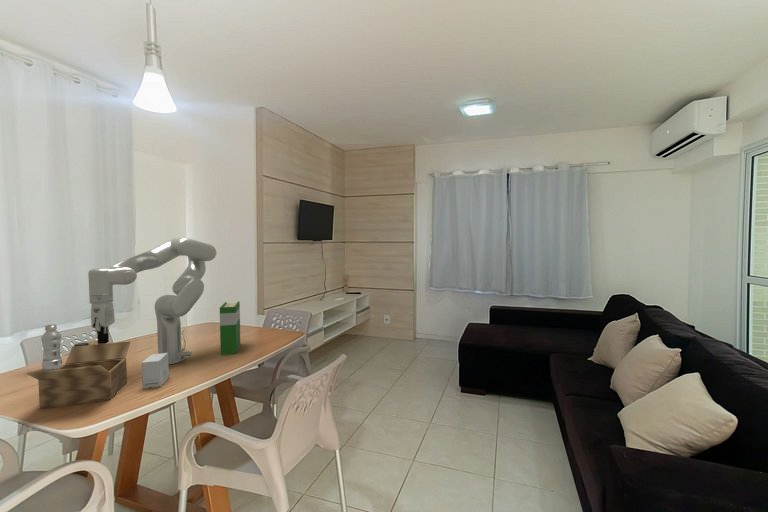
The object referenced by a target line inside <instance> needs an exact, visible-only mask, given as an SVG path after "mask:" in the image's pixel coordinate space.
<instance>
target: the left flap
mask: <svg viewBox="0 0 768 512" xmlns="http://www.w3.org/2000/svg"><path fill="white" fill-rule="evenodd" d="M108 372H109V371H108V370H106V369H105V368H104V367H102V366H101V365H96V366H86V367H76V368H67V369H57V370H56V369H55V370H48V371H45V370H40V371H39V370H37V371H29V372H26V375H28V376H29V377H32V378H33V379H36V380H47V379H56V378H65V377H74V376H83V375H92V374H101V373H108Z"/></svg>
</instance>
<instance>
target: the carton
mask: <svg viewBox="0 0 768 512" xmlns="http://www.w3.org/2000/svg"><path fill="white" fill-rule="evenodd" d="M96 365H101V366H102V367H104V368H105V369H106V370H108V371H109V372H108V373H101V374H92V375H83V376H74V377H65V378H56V379H47V380H38V379H37V380H38V403H39V406H38V407H39V410H42V409H51V408H58V407H65V406H71V405H73V406H74V405H80V403H81V404H87V402H89V403H95V402H102V401H103V400H104V401H110V400H109V399H111V400H112V399H114V397H115V396H117V394H118V393H119V392H120V391H121V390H122V389H123V388H122V387H123V386H124V385H125V386H126V385H127V383H128V373H127V372H128V369H127V365H128V364H127V357H126V358H124V359H114V360H104V361H94V362H84V363H74V364H65V363H64V364H62V366H60V367H59V368H57V369H67V368H76V367H86V366H96ZM57 369H55V370H57ZM121 388H122V389H121ZM120 389H121V390H120ZM119 390H120V391H119ZM118 391H119V392H118ZM117 392H118V393H117Z"/></svg>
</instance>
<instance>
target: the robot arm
mask: <svg viewBox="0 0 768 512" xmlns="http://www.w3.org/2000/svg"><path fill="white" fill-rule="evenodd" d="M180 256H181V257H182V256H183V257H187V260H188V265H187V266H186V268H185V270H184V271H183V272H182V273H181V274H180V276H179V277H178V278H177V279H176V281H175V282H174V283H173V285H172V287H171V289H172V292H173V294H175V295H172V294H164V295H161V296H160V297H158V298H157V299H156V301H155V303H154V312H155V317H156V327H157V328H156V330H157V332H156V333H157V334H156V335H157V354H161V353H168V366H169V365H174V364H178V363H181V362H184V361H185V360H186V357H191V356H193V355H192V351H190V350H187V351H184V348H182V323H181V322H182V321H181V318H180V317H184V316H185V315H187V314H188V313H189V311H191V309H192V308H193V307H195V305H196V303H197V301H198V300H200V298H201V297H202V295H203V294H204V291H205V283H204V282H203V280H202V278H203V277H204V275H205V273H206V269H207V268H206V266H207V265H206V262H210V261H212V260H214V259H215V258H216V257H217V250H216V248H215V246H213V245H212V244H209V243H206V242H203V241H199V240H196V239H192V238H187V237H177V238H176V237H175V238H171V239H169V240H166V241H165V242H163V243H160V244H159V245H157V246H155V247H153V248H151V249H149V250H146V251H144V252H141V253H139V254H137V255H134V256H131V257H129V258H126V259H124V260H122V261H120V262H118V263H116V264H114V265H112V266H110V267H109V268H107V267H104V268H103V267H102V268H91V269H89V271H88V273H87V274H88V275H87V276H88V278H87V279H88V297H89V298H88V299H89V301H88V302H89V304H91V306H90V307H91V309H90V324H91V328H93V329H94V331H95V332H96V335H97V341H98V344H104V343H105V344H108V343H109V342H110V338H109V337H110V335H109V330H110V326H112V325H113V324H115V322H116V319H115V318H116V317H115V309H114V304H113V303H114V289H113V286H114V285H119V286H120V285H121V286H127V285H130V284H133V283H134V282H135V281H136V280H137V277H138V273H141V272H144V271H147V270H153V269H157V268H159V267H162V266H163V265H165V264H167V263H168V262H170V261H172V260H174V259H176V258H177V257H180Z"/></svg>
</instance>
